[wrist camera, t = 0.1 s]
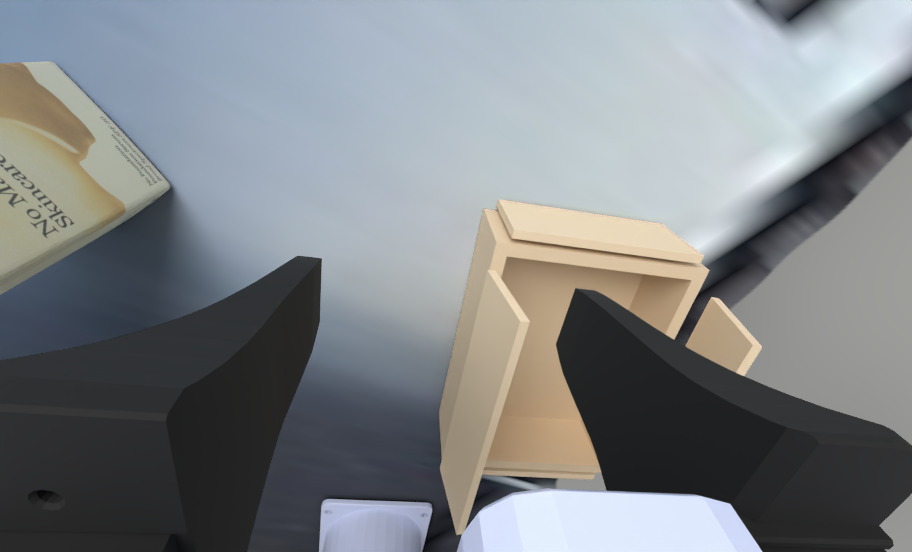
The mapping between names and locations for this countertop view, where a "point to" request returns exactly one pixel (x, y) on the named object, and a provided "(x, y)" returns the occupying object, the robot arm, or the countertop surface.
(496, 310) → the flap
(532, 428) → the carton
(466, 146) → the countertop surface
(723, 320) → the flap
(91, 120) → the skincare box
